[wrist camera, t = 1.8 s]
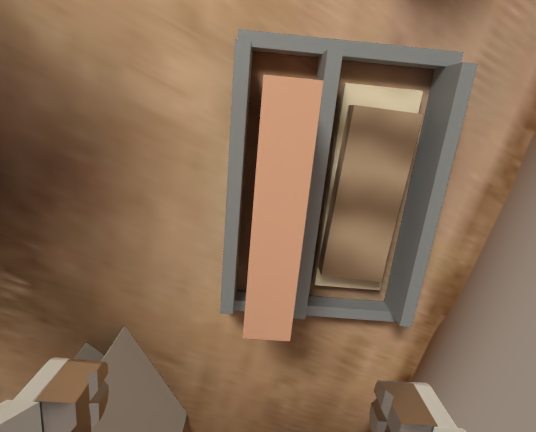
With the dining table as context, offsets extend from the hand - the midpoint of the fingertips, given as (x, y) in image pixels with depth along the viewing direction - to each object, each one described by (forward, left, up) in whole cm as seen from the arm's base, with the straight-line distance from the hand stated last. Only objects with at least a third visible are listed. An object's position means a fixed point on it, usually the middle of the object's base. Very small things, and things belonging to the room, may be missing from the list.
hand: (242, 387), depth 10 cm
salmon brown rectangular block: (-1, +2, -25) cm, 25 cm away
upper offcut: (-1, +10, -23) cm, 26 cm away
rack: (-1, +7, -25) cm, 25 cm away
